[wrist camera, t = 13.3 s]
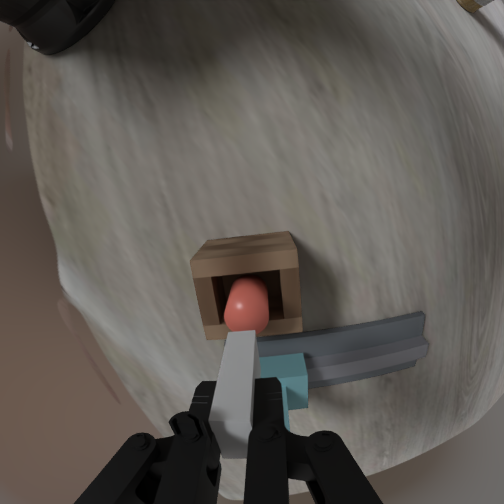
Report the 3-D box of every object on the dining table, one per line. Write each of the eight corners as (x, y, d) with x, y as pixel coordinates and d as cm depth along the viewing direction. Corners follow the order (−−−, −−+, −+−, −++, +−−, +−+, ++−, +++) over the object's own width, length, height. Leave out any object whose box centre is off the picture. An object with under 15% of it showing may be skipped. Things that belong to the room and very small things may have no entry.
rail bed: (236, 389, 32) (234, 405, 29) (225, 339, 30) (221, 355, 27) (412, 361, 31) (421, 374, 28) (421, 311, 29) (433, 322, 26)
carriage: (245, 389, 30) (238, 472, 18) (238, 358, 29) (227, 444, 17) (303, 384, 30) (317, 466, 18) (302, 352, 28) (319, 437, 17)
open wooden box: (218, 304, 29) (206, 340, 22) (207, 240, 27) (189, 260, 20) (293, 297, 28) (302, 331, 22) (288, 231, 27) (297, 248, 20)
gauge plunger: (233, 309, 23) (228, 337, 19) (228, 276, 22) (220, 299, 18) (269, 306, 23) (271, 333, 18) (265, 272, 22) (266, 294, 18)
